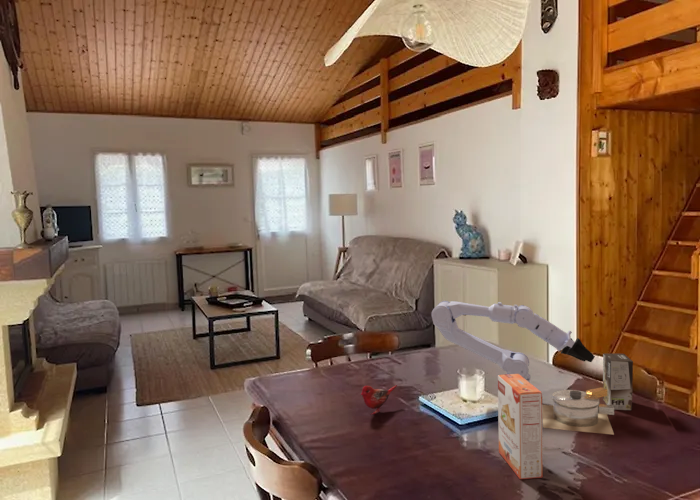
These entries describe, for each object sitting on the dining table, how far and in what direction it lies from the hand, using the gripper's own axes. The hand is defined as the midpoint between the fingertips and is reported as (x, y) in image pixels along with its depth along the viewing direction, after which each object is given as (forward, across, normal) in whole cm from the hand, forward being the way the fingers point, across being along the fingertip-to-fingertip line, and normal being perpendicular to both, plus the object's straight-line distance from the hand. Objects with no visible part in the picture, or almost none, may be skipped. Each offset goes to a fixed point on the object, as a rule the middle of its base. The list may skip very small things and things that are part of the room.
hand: (589, 359), depth 165 cm
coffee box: (+16, +7, +7) cm, 19 cm away
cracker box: (-7, -33, +36) cm, 49 cm away
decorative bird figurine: (-42, -3, +50) cm, 66 cm away
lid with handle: (+3, -6, +12) cm, 14 cm away
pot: (+6, -6, +16) cm, 18 cm away
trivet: (+5, -5, +18) cm, 20 cm away
